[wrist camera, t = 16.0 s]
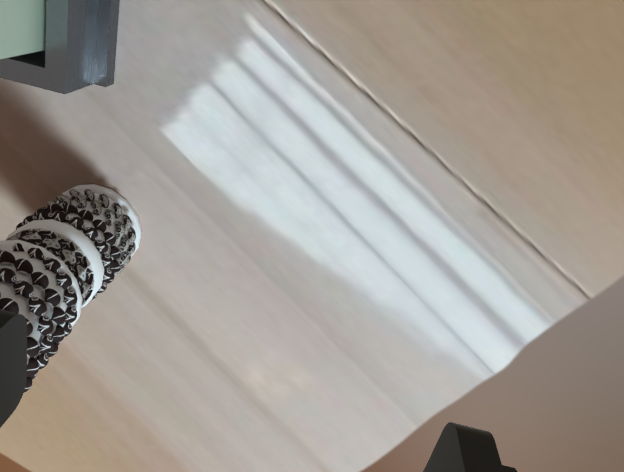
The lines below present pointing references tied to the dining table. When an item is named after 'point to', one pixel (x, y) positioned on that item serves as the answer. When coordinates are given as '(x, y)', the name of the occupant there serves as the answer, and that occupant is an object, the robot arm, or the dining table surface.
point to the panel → (22, 27)
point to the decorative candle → (64, 263)
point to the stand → (71, 48)
